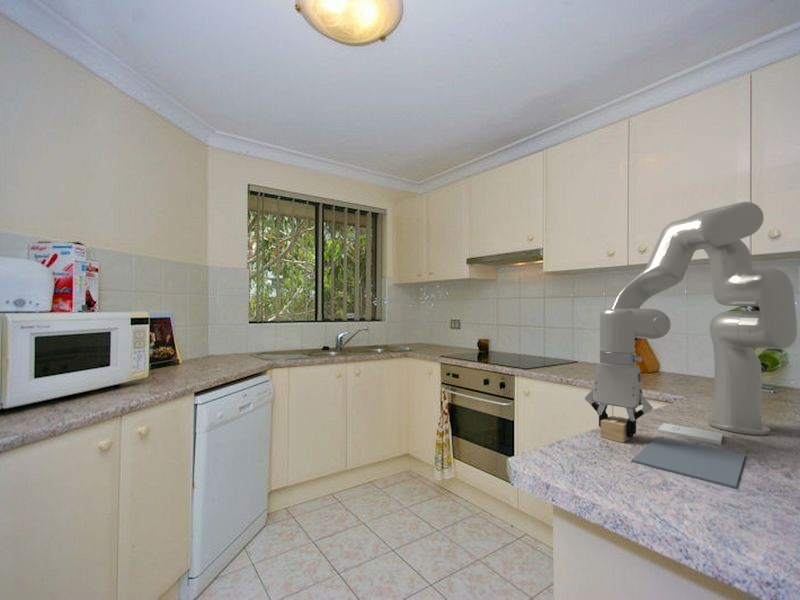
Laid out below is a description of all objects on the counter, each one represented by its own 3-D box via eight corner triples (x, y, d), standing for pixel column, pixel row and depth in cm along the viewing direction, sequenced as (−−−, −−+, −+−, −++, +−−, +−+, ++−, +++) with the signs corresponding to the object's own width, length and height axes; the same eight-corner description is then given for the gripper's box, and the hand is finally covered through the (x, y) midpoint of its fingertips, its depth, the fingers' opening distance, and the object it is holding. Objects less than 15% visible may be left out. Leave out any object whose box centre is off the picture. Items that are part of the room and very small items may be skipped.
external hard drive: (721, 447, 89) (657, 434, 98) (723, 439, 95) (663, 428, 104) (721, 440, 89) (658, 428, 98) (723, 432, 95) (663, 421, 104)
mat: (657, 438, 93) (657, 436, 93) (745, 456, 82) (745, 454, 82) (631, 461, 78) (631, 459, 78) (735, 488, 66) (735, 486, 66)
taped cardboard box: (611, 431, 98) (611, 414, 98) (633, 436, 94) (633, 419, 94) (600, 437, 93) (600, 419, 93) (623, 442, 89) (623, 424, 89)
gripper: (661, 361, 90) (662, 438, 90) (586, 354, 103) (586, 422, 102) (654, 364, 85) (654, 446, 85) (575, 356, 97) (575, 428, 97)
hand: (617, 432), depth 93 cm, fingers closed on taped cardboard box, 5 cm apart
